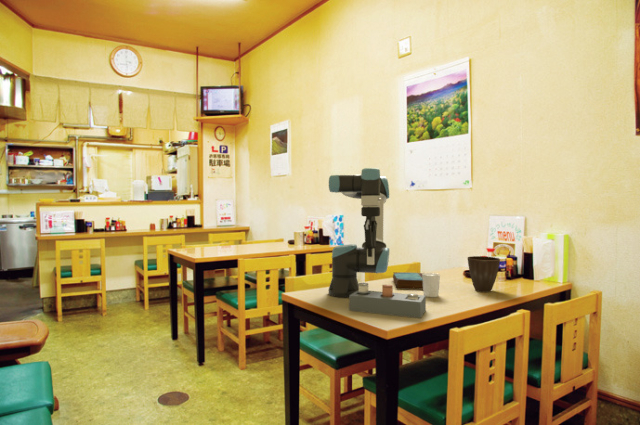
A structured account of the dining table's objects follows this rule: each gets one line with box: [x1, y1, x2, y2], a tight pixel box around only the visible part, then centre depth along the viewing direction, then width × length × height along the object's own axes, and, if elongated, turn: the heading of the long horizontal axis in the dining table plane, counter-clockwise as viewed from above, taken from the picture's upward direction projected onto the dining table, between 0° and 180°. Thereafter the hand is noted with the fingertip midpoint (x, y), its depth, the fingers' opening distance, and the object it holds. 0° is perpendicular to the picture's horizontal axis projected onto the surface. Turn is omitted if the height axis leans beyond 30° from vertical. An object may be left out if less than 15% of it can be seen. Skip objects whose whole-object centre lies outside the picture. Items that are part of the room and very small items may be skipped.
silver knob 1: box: [358, 282, 369, 295], centre depth 164 cm, size 4×4×6 cm
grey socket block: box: [348, 290, 427, 319], centre depth 160 cm, size 28×12×6 cm, turn 66°
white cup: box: [422, 272, 441, 298], centre depth 186 cm, size 8×8×10 cm
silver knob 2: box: [406, 293, 419, 300], centre depth 156 cm, size 4×4×6 cm
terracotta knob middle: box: [381, 284, 394, 297], centre depth 160 cm, size 4×4×6 cm
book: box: [392, 271, 424, 290], centre depth 213 cm, size 23×18×5 cm
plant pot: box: [467, 255, 501, 293], centre depth 197 cm, size 15×15×16 cm
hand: (370, 264), depth 163 cm, fingers closed
